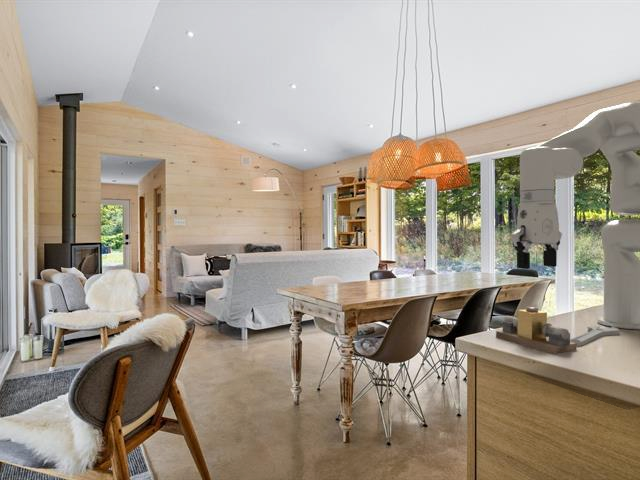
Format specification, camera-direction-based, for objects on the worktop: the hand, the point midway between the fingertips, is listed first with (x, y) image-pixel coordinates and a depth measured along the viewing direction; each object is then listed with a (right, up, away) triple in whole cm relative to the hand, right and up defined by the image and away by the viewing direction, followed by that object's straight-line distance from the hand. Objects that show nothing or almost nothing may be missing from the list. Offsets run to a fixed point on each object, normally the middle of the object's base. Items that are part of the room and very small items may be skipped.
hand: (536, 267), depth 100 cm
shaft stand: (-1, -19, 0) cm, 19 cm away
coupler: (-1, -17, 0) cm, 17 cm away
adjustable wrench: (+18, -20, +7) cm, 27 cm away
